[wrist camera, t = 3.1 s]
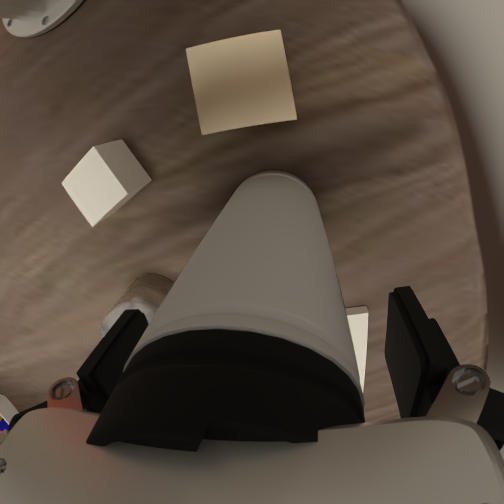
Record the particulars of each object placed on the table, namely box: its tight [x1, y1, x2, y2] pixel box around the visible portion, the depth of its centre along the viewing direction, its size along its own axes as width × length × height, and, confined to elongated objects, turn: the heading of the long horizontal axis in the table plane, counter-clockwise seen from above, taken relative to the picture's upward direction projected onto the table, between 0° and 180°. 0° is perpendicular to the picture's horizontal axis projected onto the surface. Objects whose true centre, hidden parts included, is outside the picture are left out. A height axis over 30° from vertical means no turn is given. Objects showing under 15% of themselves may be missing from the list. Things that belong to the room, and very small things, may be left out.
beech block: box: [186, 30, 297, 135], centre depth 17 cm, size 5×5×5 cm
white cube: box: [61, 139, 152, 227], centre depth 21 cm, size 4×4×4 cm
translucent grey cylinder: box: [100, 273, 174, 338], centre depth 24 cm, size 5×5×6 cm
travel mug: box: [86, 170, 365, 452], centre depth 13 cm, size 6×7×20 cm
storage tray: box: [0, 394, 19, 425], centre depth 50 cm, size 32×26×4 cm
